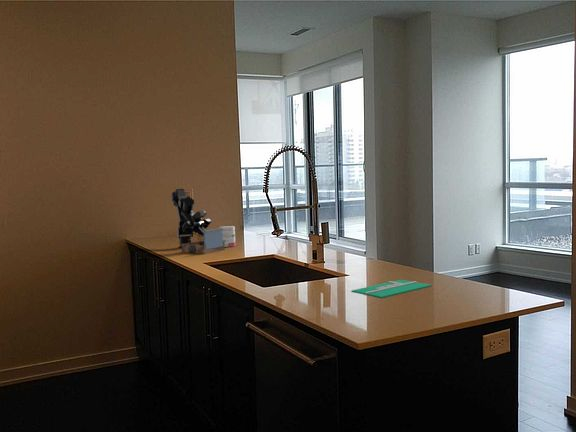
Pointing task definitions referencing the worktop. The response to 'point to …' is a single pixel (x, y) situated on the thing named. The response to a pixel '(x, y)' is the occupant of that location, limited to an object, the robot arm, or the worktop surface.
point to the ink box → (228, 236)
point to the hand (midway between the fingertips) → (204, 235)
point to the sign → (391, 288)
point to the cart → (198, 248)
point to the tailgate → (213, 238)
